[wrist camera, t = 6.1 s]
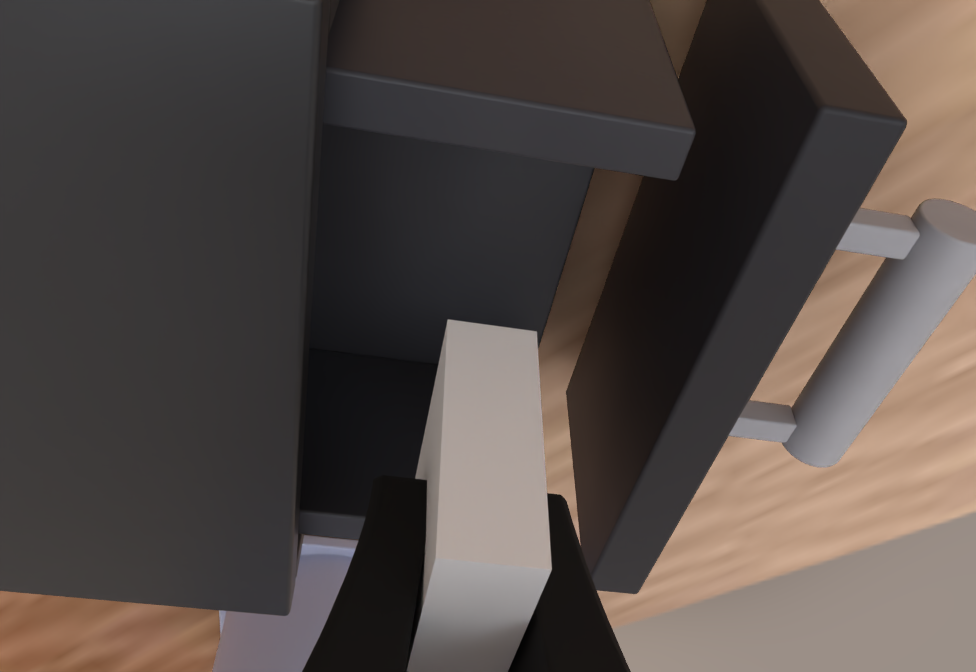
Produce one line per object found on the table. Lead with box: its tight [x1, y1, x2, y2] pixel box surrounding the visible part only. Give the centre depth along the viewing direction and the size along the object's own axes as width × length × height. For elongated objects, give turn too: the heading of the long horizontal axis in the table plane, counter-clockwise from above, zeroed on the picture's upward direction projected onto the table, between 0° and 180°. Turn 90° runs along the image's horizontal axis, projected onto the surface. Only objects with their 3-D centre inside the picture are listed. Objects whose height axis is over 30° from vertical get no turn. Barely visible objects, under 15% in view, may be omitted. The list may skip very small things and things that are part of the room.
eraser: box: [405, 319, 552, 672], centre depth 12 cm, size 1×5×4 cm, turn 170°
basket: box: [298, 0, 976, 594], centre depth 16 cm, size 18×11×6 cm, turn 80°
